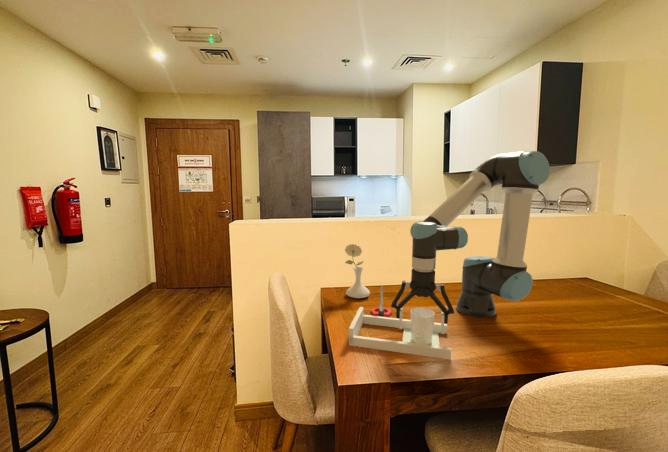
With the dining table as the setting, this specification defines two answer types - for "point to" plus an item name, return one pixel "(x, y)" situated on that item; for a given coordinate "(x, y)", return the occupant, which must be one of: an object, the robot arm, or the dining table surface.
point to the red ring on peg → (381, 307)
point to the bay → (396, 346)
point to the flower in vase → (357, 288)
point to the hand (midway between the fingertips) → (421, 329)
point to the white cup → (422, 325)
